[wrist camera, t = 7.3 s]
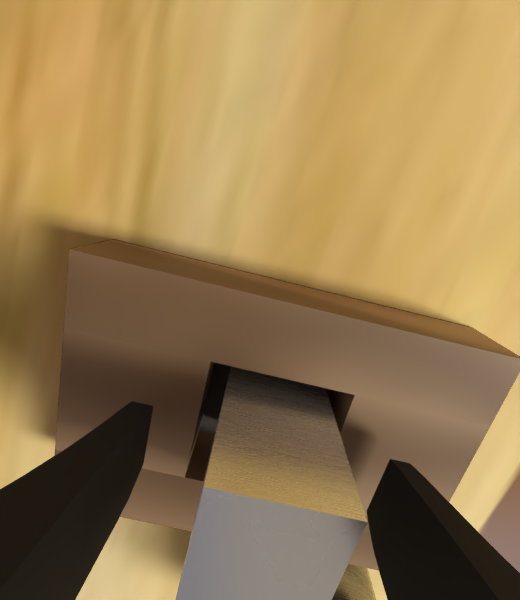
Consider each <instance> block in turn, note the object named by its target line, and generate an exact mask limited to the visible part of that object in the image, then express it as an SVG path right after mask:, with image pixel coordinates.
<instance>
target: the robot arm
mask: <svg viewBox="0 0 520 600" xmlns="http://www.w3.org/2000/svg"><path fill="white" fill-rule="evenodd" d="M152 412H153V406H152V405H147V404H143V403H138V402H134V401H132V402H130V403H128V404H127V405H125V406H124V407H123V408H121V409H120V410H119V411H117V412H116V413H115V414H113V415H112V416H111V417H109V418H108V419H107V420H105V421H104V422H103V423H101V424H100V425H99V426H97V427H96V428H94V429H93V430H92V431H90V432H89V433H87V434H86V435H85V436H83V437H82V438H80V439H79V440H77V441H76V442H75V443H73V444H72V445H70V446H69V447H67V448H66V449H64V450H63V451H61V452H60V453H58V454H57V455H55V456H54V457H52V458H51V459H49V460H47V461H46V462H44V463H43V464H41V465H40V466H38V467H36V468H35V469H33V470H32V471H30V472H29V473H27V474H25V475H24V476H22V477H20V478H19V479H17V480H15V481H14V482H12V483H10V484H9V485H7V486H5V487H4V488H2V489H0V600H75V599H76V597H77V595H78V593H79V591H80V590H81V588H82V586H83V584H84V582H85V580H86V578H87V577H88V575H89V573H90V571H91V569H92V567H93V565H94V564H95V562H96V560H97V558H98V556H99V554H100V552H101V551H102V549H103V547H104V545H105V543H106V541H107V539H108V537H109V536H110V534H111V532H112V530H113V528H114V526H115V524H116V523H117V521H118V519H119V517H120V515H121V513H122V511H123V509H124V507H125V506H126V504H127V502H128V500H129V497H130V495H131V493H132V490H133V488H134V485H135V483H136V481H137V478H138V476H139V473H140V471H141V468H142V466H143V464H144V458H145V452H146V446H147V441H148V435H149V429H150V423H151V417H152ZM367 517H368V523H369V529H370V535H371V540H372V545H373V550H374V554H375V558H376V561H377V565H378V568H379V572H380V575H381V578H382V582H383V585H384V589H385V592H386V595H387V599H388V600H520V573H519V572H518V571H517V570H516V569H515V568H514V567H513V566H511V564H510V563H508V562H507V561H506V560H505V559H504V558H503V557H502V556H501V555H500V554H499V553H498V552H497V551H496V550H495V549H494V548H493V547H492V546H491V545H490V544H489V543H488V542H487V541H486V540H485V539H484V538H483V537H482V536H481V535H480V534H479V533H478V532H477V531H476V530H475V529H474V528H473V527H472V526H471V524H470V523H469V522H468V521H467V520H466V519H465V518H464V517H463V516H462V515H461V514H460V513H459V512H458V511H457V510H456V509H455V508H454V507H453V506H452V505H451V504H450V503H449V502H448V501H447V500H446V499H445V498H444V497H443V496H442V494H441V493H440V492H439V491H438V490H437V489H436V488H435V487H434V486H433V485H432V484H431V483H430V482H429V481H428V480H427V479H426V478H425V477H424V476H423V475H422V474H421V473H420V472H419V471H418V470H417V469H416V468H415V467H413V466H412V465H411V464H410V463H406V462H402V461H397V460H393V459H390V460H389V462H388V464H387V467H386V469H385V471H384V473H383V476H382V478H381V480H380V482H379V484H378V487H377V489H376V491H375V493H374V496H373V498H372V500H371V502H370V504H369V507H368V509H367Z"/></svg>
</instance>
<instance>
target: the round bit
mask: <svg viewBox="0 0 520 600" xmlns="http://www.w3.org/2000/svg"><path fill="white" fill-rule="evenodd" d="M332 600H376V598H375V594H374V590H373V587H372V583H371V579H370V576H369V572H368V568H365V567H360V566H356V565H351V564H348V565H347V568H346V570H345V572H344V574H343V576H342V578H341V581H340V583H339V585H338V587H337V589H336V592H335V594H334V596H333V598H332Z"/></svg>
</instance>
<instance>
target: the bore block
mask: <svg viewBox="0 0 520 600" xmlns="http://www.w3.org/2000/svg"><path fill="white" fill-rule="evenodd" d="M231 366H232V367H236V368H241V369H245V370H249V371H253V372H258V373H262V374H266V375H271V376H275V377H279V378H284V379H288V380H292V381H297V382H301V383H305V384H310V385H314V386H318V387H322V388H326V391H327V394H328V397H329V400H330V404H331V407H332V410H333V413H334V416H335V420H336V423H337V426H338V429H339V433H340V436H341V439H342V442H343V445H344V449H345V452H346V455H347V458H348V461H349V465H350V468H351V471H352V474H353V478H354V481H355V484H356V487H357V490H358V494H359V497H360V500H361V503H362V506H363V510H364V513H365V516H366V519H367V524H366V526H365V528H364V530H363V533H362V535H361V537H360V539H359V541H358V543H357V546H356V548H355V550H354V552H353V554H352V557H351V559H350V561H349V563H348V564H351V565H356V566H360V567H365V568H370V569H375V570H379V568H378V565H377V561H376V558H375V554H374V550H373V545H372V540H371V535H370V529H369V523H368V517H367V509H368V507H369V504H370V502H371V500H372V498H373V496H374V493H375V491H376V489H377V487H378V484H379V482H380V480H381V478H382V476H383V473H384V471H385V469H386V467H387V464H388V462H389V460H390V459H393V460H397V461H402V462H406V463H410V464H411V465H412V466H413V467H415V468H416V469H417V470H418V471H419V472H420V473H421V474H422V475H423V476H424V477H425V478H426V479H427V480H428V481H429V482H430V483H431V484H432V485H433V486H434V487H435V488H436V489H437V490H438V491H439V492H440V493H441V494H442V496H443V497H444V498H445V499H446V500H447V501H448V502H449V501H450V499H451V497H452V496H453V494H454V492H455V490H456V488H457V486H458V484H459V483H460V481H461V479H462V477H463V475H464V473H465V472H466V470H467V468H468V466H469V464H470V462H471V461H472V459H473V457H474V455H475V453H476V451H477V450H478V448H479V446H480V444H481V442H482V440H483V439H484V437H485V435H486V433H487V431H488V429H489V427H490V426H491V424H492V422H493V420H494V418H495V416H496V415H497V413H498V411H499V409H500V407H501V405H502V404H503V402H504V400H505V398H506V396H507V394H508V393H509V391H510V389H511V387H512V385H513V383H514V382H515V380H516V378H517V376H518V374H519V372H520V356H518V355H517V354H515V353H513V352H512V351H510V350H508V349H507V348H505V347H503V346H502V345H500V344H498V343H497V342H495V341H493V340H492V339H490V338H488V337H487V336H485V335H484V334H482V333H480V332H479V331H477V330H475V329H474V328H472V327H467V326H463V325H459V324H455V323H451V322H447V321H443V320H439V319H435V318H431V317H427V316H423V315H419V314H415V313H411V312H407V311H402V310H398V309H394V308H390V307H386V306H382V305H378V304H374V303H370V302H366V301H362V300H358V299H354V298H350V297H346V296H341V295H337V294H333V293H329V292H325V291H321V290H317V289H313V288H309V287H305V286H301V285H297V284H293V283H289V282H285V281H280V280H276V279H272V278H268V277H264V276H260V275H256V274H252V273H248V272H244V271H240V270H236V269H232V268H228V267H224V266H219V265H215V264H211V263H207V262H203V261H199V260H195V259H191V258H187V257H183V256H179V255H175V254H171V253H167V252H163V251H159V250H154V249H150V248H146V247H142V246H138V245H134V244H130V243H126V242H122V241H118V240H114V239H112V240H108V241H103V242H99V243H94V244H90V245H86V246H81V247H77V248H72V249H69V258H68V272H67V287H66V301H65V315H64V330H63V344H62V359H61V373H60V387H59V402H58V416H57V430H56V445H55V455H57V454H58V453H60V452H61V451H63V450H64V449H66V448H67V447H69V446H70V445H72V444H73V443H75V442H76V441H77V440H79V439H80V438H82V437H83V436H85V435H86V434H87V433H89V432H90V431H92V430H93V429H94V428H96V427H97V426H99V425H100V424H101V423H103V422H104V421H105V420H107V419H108V418H109V417H111V416H112V415H113V414H115V413H116V412H117V411H119V410H120V409H121V408H123V407H124V406H125V405H127V404H128V403H130V402H132V401H134V402H138V403H143V404H147V405H152V406H153V412H152V417H151V423H150V429H149V435H148V441H147V446H146V452H145V458H144V464H143V466H142V468H141V471H140V473H139V476H138V478H137V481H136V483H135V485H134V488H133V490H132V493H131V495H130V497H129V500H128V502H127V504H126V506H125V507H124V509H123V511H122V513H121V515H120V517H124V518H128V519H133V520H138V521H143V522H148V523H153V524H157V525H162V526H167V527H172V528H177V529H182V530H186V531H191V532H192V528H193V524H194V519H195V515H196V511H197V507H198V502H199V498H200V494H201V490H202V485H203V481H204V477H205V473H206V468H207V464H208V460H209V456H210V451H211V447H212V443H213V438H214V434H215V430H216V426H217V421H218V417H219V413H220V409H221V405H222V401H223V397H224V393H225V389H226V385H227V380H228V376H229V372H230V368H231Z"/></svg>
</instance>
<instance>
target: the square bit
mask: <svg viewBox="0 0 520 600" xmlns="http://www.w3.org/2000/svg"><path fill="white" fill-rule="evenodd" d="M366 524H367V519H366V516H365V513H364V510H363V506H362V503H361V500H360V497H359V494H358V490H357V487H356V484H355V481H354V478H353V474H352V471H351V468H350V465H349V461H348V458H347V455H346V452H345V449H344V445H343V442H342V439H341V436H340V433H339V429H338V426H337V423H336V420H335V416H334V413H333V410H332V407H331V404H330V400H329V397H328V394H327V391H326V388H322V387H318V386H314V385H310V384H305V383H301V382H297V381H292V380H288V379H284V378H279V377H275V376H271V375H266V374H262V373H258V372H253V371H249V370H245V369H241V368H236V367H232V366H231V368H230V372H229V376H228V380H227V385H226V389H225V393H224V397H223V401H222V405H221V409H220V413H219V417H218V421H217V426H216V430H215V434H214V438H213V443H212V447H211V451H210V456H209V460H208V464H207V468H206V473H205V477H204V481H203V485H202V490H201V494H200V498H199V502H198V507H197V511H196V515H195V519H194V524H193V528H192V532H191V536H190V541H189V545H188V549H187V553H186V558H185V562H184V566H183V571H182V575H181V579H180V583H179V588H178V592H177V596H176V600H332V598H333V596H334V594H335V592H336V589H337V587H338V585H339V583H340V581H341V578H342V576H343V574H344V572H345V570H346V568H347V565H348V563H349V561H350V559H351V557H352V554H353V552H354V550H355V548H356V546H357V543H358V541H359V539H360V537H361V535H362V533H363V530H364V528H365V526H366Z"/></svg>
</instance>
